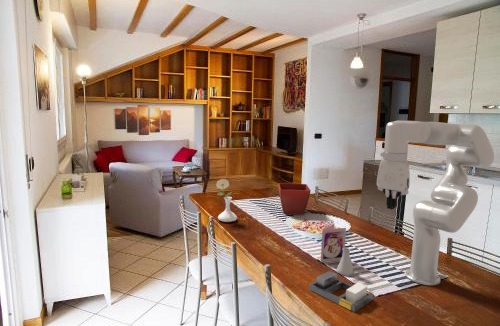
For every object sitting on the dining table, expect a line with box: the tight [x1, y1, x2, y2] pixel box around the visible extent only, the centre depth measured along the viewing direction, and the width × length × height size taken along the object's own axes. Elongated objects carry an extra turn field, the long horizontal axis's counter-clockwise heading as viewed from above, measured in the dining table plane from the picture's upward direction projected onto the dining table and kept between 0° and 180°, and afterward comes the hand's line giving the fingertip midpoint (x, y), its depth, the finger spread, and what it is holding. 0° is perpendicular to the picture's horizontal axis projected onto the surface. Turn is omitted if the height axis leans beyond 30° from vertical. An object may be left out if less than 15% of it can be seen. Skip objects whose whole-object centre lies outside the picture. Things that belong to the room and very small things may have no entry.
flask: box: [335, 247, 355, 277], centre depth 143 cm, size 7×7×10 cm
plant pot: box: [278, 182, 311, 215], centre depth 227 cm, size 19×19×17 cm
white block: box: [345, 282, 368, 304], centre depth 122 cm, size 8×4×5 cm, turn 133°
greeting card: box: [320, 223, 347, 263], centre depth 155 cm, size 11×7×15 cm, turn 105°
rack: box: [308, 270, 374, 313], centre depth 125 cm, size 12×19×5 cm, turn 42°
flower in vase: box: [215, 178, 238, 223], centre depth 205 cm, size 13×11×25 cm
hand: (391, 208), depth 124 cm, fingers closed
